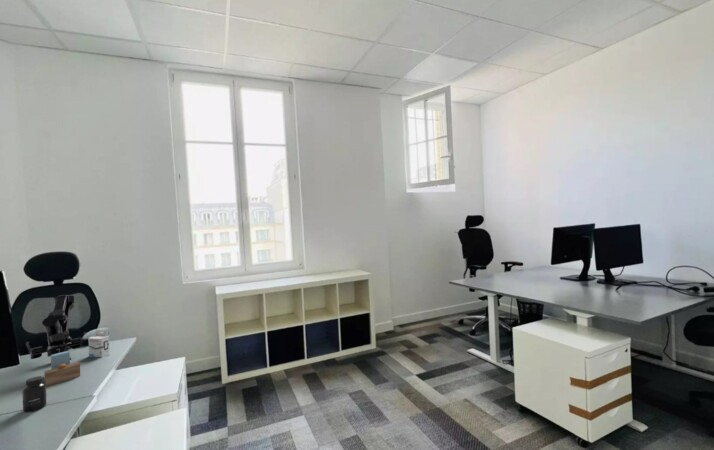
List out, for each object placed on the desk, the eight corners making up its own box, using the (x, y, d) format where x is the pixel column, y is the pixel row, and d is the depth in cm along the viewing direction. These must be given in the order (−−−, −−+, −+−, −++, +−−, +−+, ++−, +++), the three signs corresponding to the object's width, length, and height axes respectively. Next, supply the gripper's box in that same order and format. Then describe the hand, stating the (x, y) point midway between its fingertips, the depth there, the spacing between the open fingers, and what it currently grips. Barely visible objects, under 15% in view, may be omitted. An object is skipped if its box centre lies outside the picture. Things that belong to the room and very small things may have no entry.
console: (42, 380, 154) (41, 363, 154) (75, 370, 164) (74, 355, 163) (46, 388, 146) (45, 370, 146) (80, 378, 155) (79, 361, 155)
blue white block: (51, 377, 154) (50, 354, 154) (69, 372, 159) (68, 350, 159) (52, 379, 152) (51, 356, 152) (70, 374, 157) (69, 352, 157)
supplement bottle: (31, 413, 126) (30, 383, 126) (18, 412, 128) (16, 382, 127) (51, 404, 133) (50, 375, 133) (38, 402, 134) (37, 374, 134)
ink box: (88, 359, 178) (87, 332, 178) (96, 355, 183) (95, 329, 183) (102, 359, 177) (101, 332, 177) (110, 355, 182) (109, 329, 182)
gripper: (29, 332, 153) (33, 360, 146) (80, 322, 167) (86, 347, 160) (29, 344, 158) (32, 373, 151) (78, 334, 173) (83, 359, 166)
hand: (59, 362), depth 157 cm, fingers closed, pressing on blue white block
